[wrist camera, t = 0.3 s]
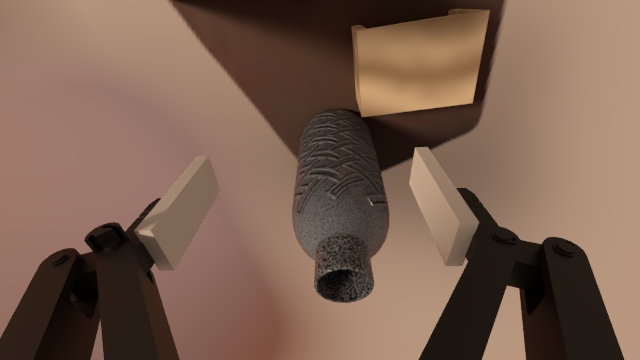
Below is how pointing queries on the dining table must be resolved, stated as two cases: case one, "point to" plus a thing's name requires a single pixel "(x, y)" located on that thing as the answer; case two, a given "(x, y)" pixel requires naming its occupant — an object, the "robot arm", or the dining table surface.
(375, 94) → the overhang
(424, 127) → the dining table surface
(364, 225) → the vase
